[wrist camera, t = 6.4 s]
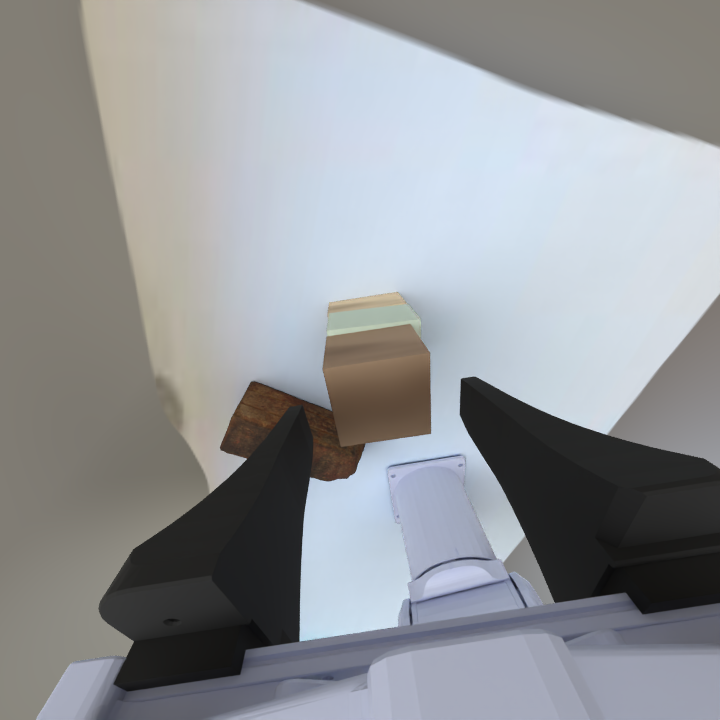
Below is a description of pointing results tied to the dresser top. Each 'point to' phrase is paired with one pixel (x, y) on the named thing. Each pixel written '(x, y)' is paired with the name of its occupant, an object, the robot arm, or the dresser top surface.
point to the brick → (264, 413)
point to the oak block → (366, 302)
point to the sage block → (372, 319)
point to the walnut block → (378, 384)
